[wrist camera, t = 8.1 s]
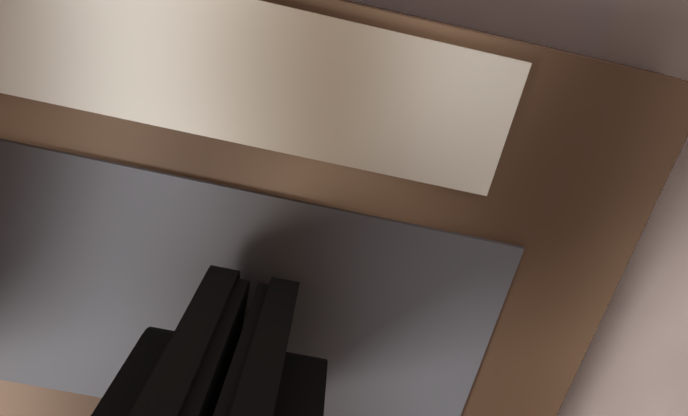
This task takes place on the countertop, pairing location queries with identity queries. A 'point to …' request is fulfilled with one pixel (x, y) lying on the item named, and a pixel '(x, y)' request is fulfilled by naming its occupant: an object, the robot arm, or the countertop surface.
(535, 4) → the countertop surface
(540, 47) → the base
